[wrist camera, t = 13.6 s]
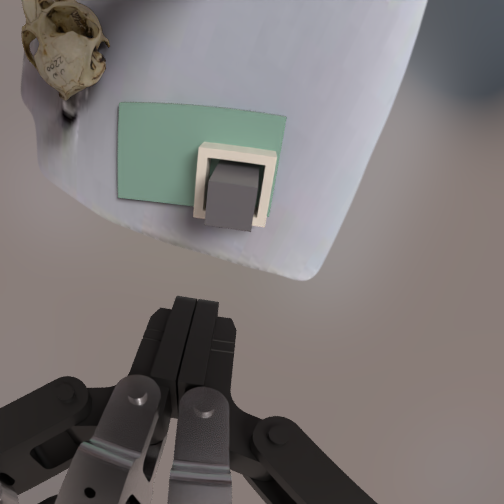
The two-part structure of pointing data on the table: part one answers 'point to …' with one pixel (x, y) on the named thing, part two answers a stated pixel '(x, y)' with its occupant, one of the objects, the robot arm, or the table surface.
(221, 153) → the frame
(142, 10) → the table surface
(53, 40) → the skull
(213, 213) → the plug
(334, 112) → the table surface
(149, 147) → the board
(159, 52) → the table surface
